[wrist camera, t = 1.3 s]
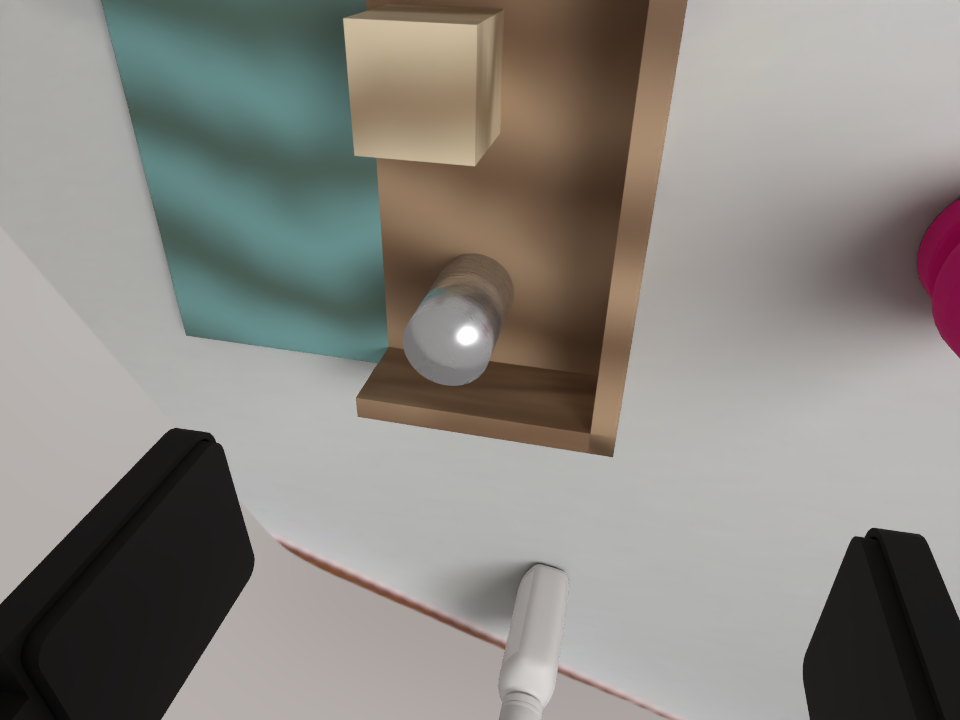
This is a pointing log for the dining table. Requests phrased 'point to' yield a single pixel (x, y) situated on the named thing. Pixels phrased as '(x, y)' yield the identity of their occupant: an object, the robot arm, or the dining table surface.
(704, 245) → the dining table surface
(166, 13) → the cubby
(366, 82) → the birch block
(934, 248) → the pepper mill
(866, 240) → the dining table surface
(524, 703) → the eye dropper bottle
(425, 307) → the steel peg
